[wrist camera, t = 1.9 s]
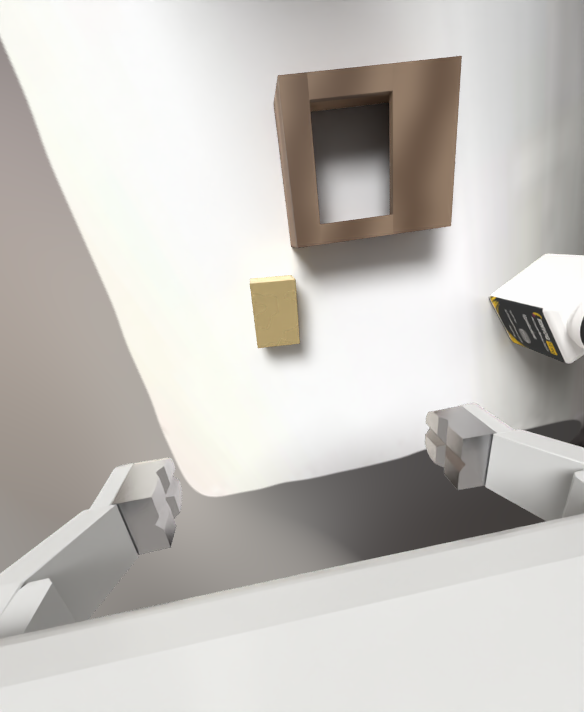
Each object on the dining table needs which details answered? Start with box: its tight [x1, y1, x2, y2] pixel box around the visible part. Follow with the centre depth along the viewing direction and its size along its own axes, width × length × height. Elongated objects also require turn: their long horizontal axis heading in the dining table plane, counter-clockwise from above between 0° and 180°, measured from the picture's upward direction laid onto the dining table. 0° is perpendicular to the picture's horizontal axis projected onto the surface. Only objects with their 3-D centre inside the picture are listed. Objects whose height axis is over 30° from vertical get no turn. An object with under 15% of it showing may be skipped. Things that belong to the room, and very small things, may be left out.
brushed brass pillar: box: [250, 275, 300, 348], centre depth 29 cm, size 4×6×4 cm, turn 4°
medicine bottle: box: [489, 254, 584, 364], centre depth 28 cm, size 7×7×12 cm
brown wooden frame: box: [274, 56, 462, 248], centre depth 25 cm, size 13×11×5 cm
